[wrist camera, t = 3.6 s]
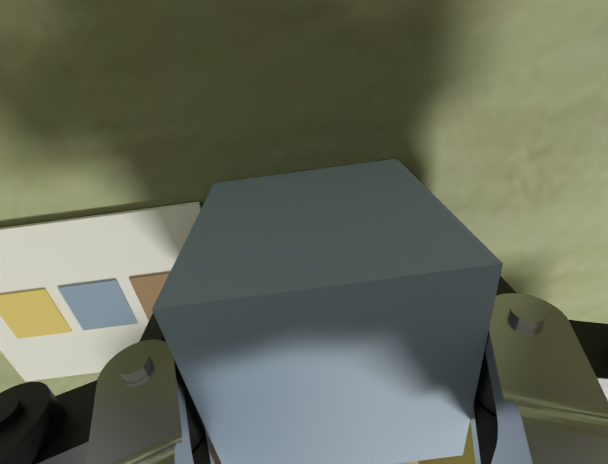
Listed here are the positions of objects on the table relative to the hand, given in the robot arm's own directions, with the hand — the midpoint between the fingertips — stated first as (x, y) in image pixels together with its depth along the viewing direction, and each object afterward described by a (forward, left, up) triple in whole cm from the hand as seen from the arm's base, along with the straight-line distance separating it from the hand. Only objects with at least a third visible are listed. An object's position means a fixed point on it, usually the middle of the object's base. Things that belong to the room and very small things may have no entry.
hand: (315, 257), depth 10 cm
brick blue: (0, 0, 0) cm, 0 cm away
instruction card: (+7, +1, 0) cm, 7 cm away
